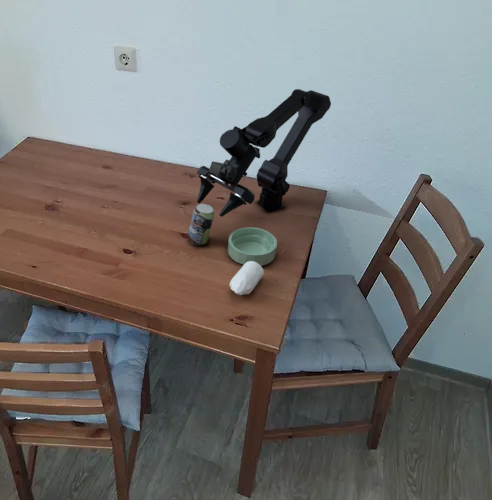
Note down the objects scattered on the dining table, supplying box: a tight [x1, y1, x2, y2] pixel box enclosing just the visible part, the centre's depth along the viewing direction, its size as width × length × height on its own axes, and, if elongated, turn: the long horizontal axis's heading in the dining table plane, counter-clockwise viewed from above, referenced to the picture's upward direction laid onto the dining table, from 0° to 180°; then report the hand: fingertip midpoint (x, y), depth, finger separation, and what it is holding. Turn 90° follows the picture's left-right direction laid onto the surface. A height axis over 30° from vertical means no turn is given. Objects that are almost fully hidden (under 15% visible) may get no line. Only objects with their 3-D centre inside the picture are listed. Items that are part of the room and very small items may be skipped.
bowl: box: [227, 226, 278, 267], centre depth 154 cm, size 13×13×4 cm
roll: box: [228, 261, 265, 296], centre depth 141 cm, size 6×12×6 cm, turn 147°
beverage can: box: [187, 203, 215, 246], centre depth 157 cm, size 6×7×12 cm
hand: (209, 209), depth 156 cm, fingers open, 9 cm apart
